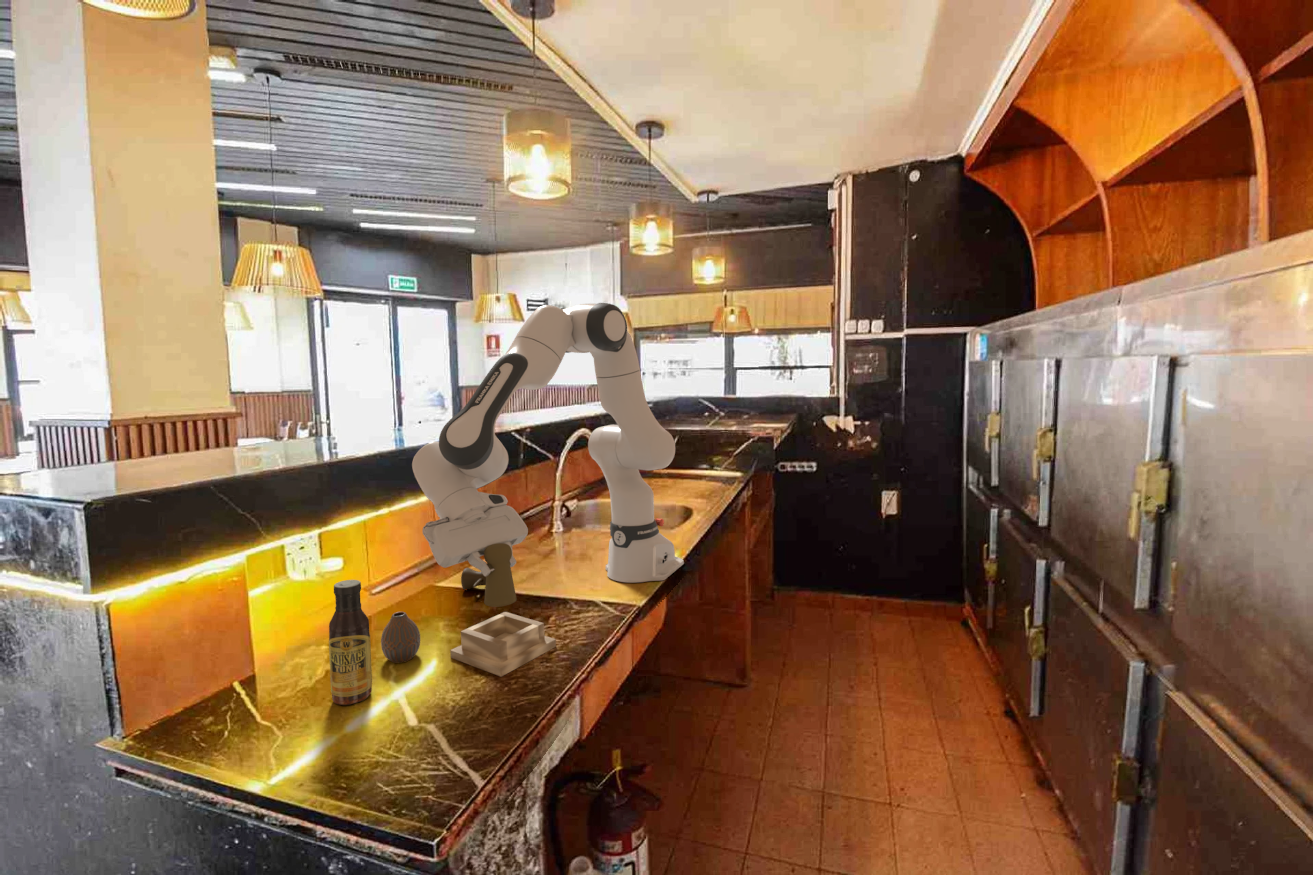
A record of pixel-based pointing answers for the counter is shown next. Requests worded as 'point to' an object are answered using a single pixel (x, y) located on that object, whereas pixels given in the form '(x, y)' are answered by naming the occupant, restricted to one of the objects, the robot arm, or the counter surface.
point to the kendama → (472, 578)
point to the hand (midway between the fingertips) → (501, 569)
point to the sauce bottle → (349, 646)
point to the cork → (499, 576)
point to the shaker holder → (502, 643)
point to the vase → (400, 638)
